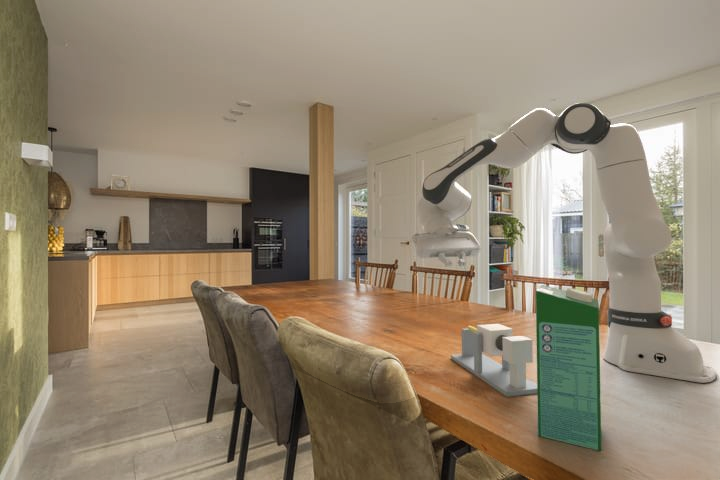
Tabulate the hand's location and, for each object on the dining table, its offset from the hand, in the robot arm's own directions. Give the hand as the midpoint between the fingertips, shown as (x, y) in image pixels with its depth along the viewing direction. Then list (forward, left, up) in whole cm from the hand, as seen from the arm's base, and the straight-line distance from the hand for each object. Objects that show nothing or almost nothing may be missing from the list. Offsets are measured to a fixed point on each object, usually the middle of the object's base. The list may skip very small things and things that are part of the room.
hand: (456, 265), depth 109 cm
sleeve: (-17, +9, -20) cm, 28 cm away
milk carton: (-38, +25, -26) cm, 52 cm away
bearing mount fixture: (-15, +9, -26) cm, 31 cm away
